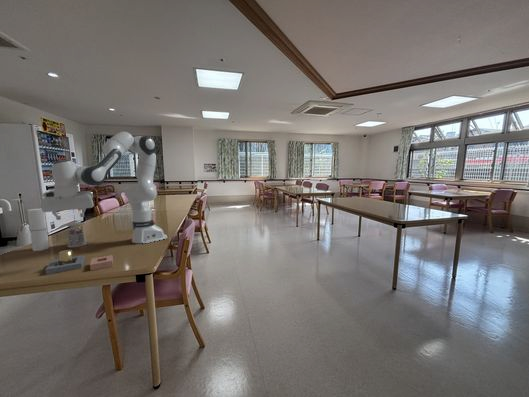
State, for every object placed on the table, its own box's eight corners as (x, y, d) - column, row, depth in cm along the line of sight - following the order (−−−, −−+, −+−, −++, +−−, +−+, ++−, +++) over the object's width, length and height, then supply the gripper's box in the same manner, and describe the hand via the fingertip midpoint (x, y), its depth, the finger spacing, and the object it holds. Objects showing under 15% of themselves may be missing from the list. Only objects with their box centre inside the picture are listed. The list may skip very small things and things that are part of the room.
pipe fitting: (75, 263, 116) (73, 248, 115) (73, 267, 111) (72, 252, 110) (60, 265, 113) (58, 250, 112) (58, 270, 108) (56, 254, 107)
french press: (90, 242, 149) (87, 206, 146) (74, 248, 137) (70, 209, 134) (77, 242, 150) (73, 206, 147) (60, 248, 138) (55, 209, 135)
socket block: (84, 259, 121) (84, 255, 121) (81, 268, 110) (81, 263, 110) (52, 264, 114) (52, 260, 113) (46, 274, 103) (45, 269, 103)
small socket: (113, 260, 120) (112, 255, 119) (112, 266, 112) (112, 260, 112) (92, 264, 115) (91, 258, 114) (90, 270, 107) (90, 264, 107)
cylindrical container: (30, 251, 132) (25, 210, 129) (35, 247, 138) (30, 208, 135) (46, 249, 135) (41, 209, 132) (50, 246, 141) (46, 208, 138)
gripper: (92, 190, 121) (96, 214, 123) (41, 193, 110) (45, 219, 112) (91, 191, 116) (95, 216, 118) (37, 194, 105) (42, 222, 107)
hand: (70, 218), depth 115 cm, fingers open, 8 cm apart
